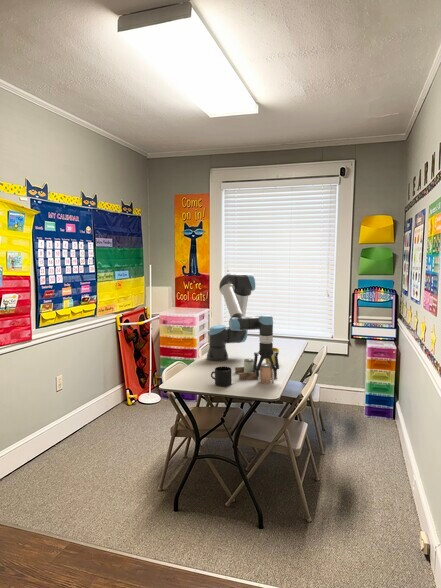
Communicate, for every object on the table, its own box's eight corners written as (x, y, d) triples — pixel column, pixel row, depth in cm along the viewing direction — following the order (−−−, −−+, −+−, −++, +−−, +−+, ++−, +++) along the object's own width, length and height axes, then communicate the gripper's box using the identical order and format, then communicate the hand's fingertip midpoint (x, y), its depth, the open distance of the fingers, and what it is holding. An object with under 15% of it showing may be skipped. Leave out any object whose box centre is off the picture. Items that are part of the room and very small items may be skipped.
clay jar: (261, 383, 229) (261, 366, 228) (259, 380, 235) (259, 364, 234) (272, 383, 230) (272, 366, 229) (269, 380, 236) (269, 363, 235)
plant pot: (266, 365, 268) (266, 351, 267) (260, 361, 278) (261, 347, 277) (281, 364, 270) (281, 350, 270) (274, 360, 280) (275, 346, 279)
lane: (239, 379, 237) (239, 369, 237) (235, 372, 251) (235, 363, 251) (276, 377, 240) (276, 367, 240) (270, 371, 255) (270, 361, 254)
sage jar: (245, 377, 242) (245, 361, 241) (243, 374, 248) (243, 358, 247) (254, 376, 243) (255, 360, 242) (252, 373, 249) (252, 358, 248)
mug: (213, 380, 235) (213, 365, 234) (233, 382, 231) (233, 367, 231) (208, 385, 226) (207, 369, 226) (228, 387, 222) (228, 371, 222)
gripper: (250, 344, 225) (250, 384, 227) (285, 343, 228) (284, 382, 230) (247, 341, 233) (247, 380, 234) (281, 340, 236) (281, 379, 237)
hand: (265, 381), depth 232 cm, fingers open, 7 cm apart
